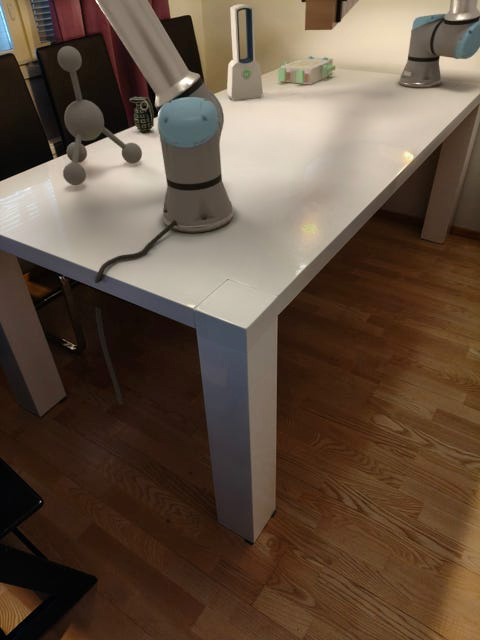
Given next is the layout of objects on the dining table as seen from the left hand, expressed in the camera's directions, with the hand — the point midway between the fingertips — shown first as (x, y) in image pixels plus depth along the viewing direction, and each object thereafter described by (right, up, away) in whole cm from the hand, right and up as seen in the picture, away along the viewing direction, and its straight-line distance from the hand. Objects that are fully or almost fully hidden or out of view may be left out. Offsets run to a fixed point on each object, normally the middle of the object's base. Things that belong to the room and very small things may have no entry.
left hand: (323, 21), depth 96 cm
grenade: (-47, +3, +64) cm, 80 cm away
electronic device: (-15, +28, +93) cm, 98 cm away
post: (+8, +17, +22) cm, 29 cm away
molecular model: (-54, -17, +38) cm, 68 cm away
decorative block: (+12, +44, +112) cm, 121 cm away
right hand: (+16, +35, +44) cm, 58 cm away
